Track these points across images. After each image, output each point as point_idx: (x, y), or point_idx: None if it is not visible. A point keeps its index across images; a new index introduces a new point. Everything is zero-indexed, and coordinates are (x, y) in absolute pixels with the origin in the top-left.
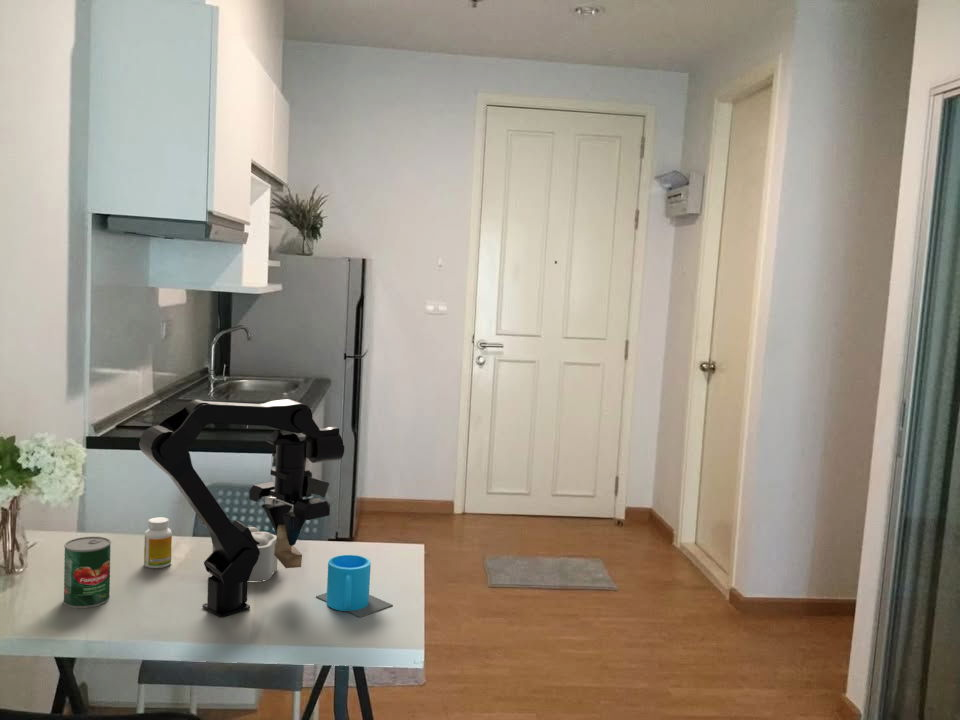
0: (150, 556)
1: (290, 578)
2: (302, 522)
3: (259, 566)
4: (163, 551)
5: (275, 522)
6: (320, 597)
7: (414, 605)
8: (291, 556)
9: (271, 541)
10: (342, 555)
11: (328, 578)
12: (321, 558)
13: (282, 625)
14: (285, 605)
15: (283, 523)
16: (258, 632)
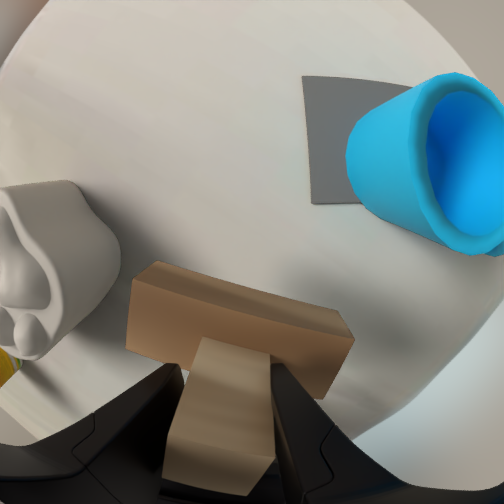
0: (11, 376)
1: (138, 182)
2: (370, 477)
3: (98, 284)
4: (5, 368)
5: (155, 495)
6: (328, 199)
7: (470, 70)
8: (331, 380)
9: (24, 237)
10: (414, 120)
11: (421, 235)
12: (80, 49)
13: (383, 356)
14: (304, 302)
15: (137, 447)
16: (369, 396)
